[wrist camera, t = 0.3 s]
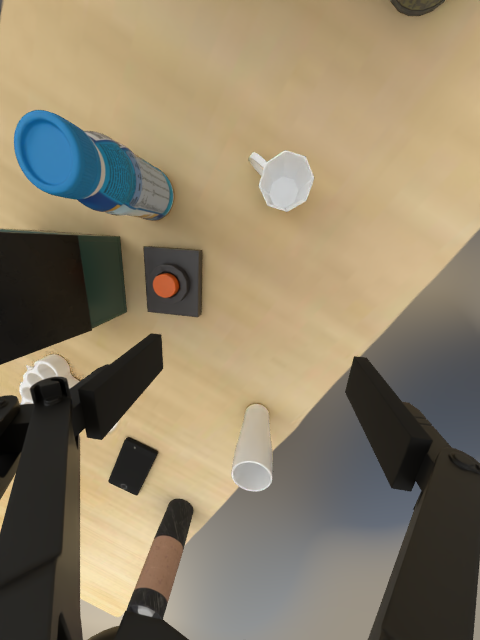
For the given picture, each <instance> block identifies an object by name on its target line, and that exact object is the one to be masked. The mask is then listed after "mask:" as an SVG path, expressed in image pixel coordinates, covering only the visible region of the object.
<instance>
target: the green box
mask: <svg viewBox="0 0 480 640" xmlns="http://www.w3.org/2000/svg"><path fill="white" fill-rule="evenodd" d="M0 232H18V233H41V234H64V235H78V240H79V247H80V254H81V260H82V267H83V274H84V280H85V287H86V293H87V300H88V307H89V313H90V320H91V327H92V328H94V327H97V326H99V325H101V324H103V323H105V322H107V321H109V320H111V319H113V318H115V317H117V316H119V315H122V314H124V313H126V312H127V307H126V296H125V286H124V275H123V265H122V254H121V244H120V237H118V236H104V235H91V234H78V233H64V232H51V231H37V230H16V229H0Z"/></svg>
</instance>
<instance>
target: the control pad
mask: <svg viewBox="0 0 480 640" xmlns="http://www.w3.org/2000/svg"><path fill="white" fill-rule="evenodd" d="M144 262H145V277H146V293H147V308H148V312H155V313H164V314H173V315H182V316H192V317H199V316H200V315H201V306H202V250H191V249H178V248H165V247H152V246H144ZM164 273H170V274H172V275H174V276H175V277H176V278H177V280H178V282H179V289H178V291H177V293H176V294H174V295H172V296H171V297H168V298H163V297H161V296H159V295H158V294H156V292H155V291H154V288H153V281H154V279H155V277H156V276H158V275H160V274H164Z"/></svg>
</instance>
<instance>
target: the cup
mask: <svg viewBox="0 0 480 640" xmlns="http://www.w3.org/2000/svg"><path fill="white" fill-rule="evenodd" d="M249 161H250V163H251V165H252V166H253V167H254V168H255V170H256V171H257V172H258V173H259V174H260V175H261V180H260V183H259V188H260V190H261V192H262V194H263V197H264V199H265V201H266V203H267V205H268V206H270V207H273V208H276V209H279V210H282V211H286V212H288V211H290V210H291V209H293V208H295V207H297V206H298V205H300V204H302V203H304V202H305V201H306V200H307V197H308V195H309V192H310V189H311V186H312V183H313V181H314V176H313V173H312V171H311V168H310V166H309V163H308V161H307V158H306V156H303V155H299V154H296V153H293V152H290V151H286V150H284V151H283V152H281V153H280V154H278V155H277V156H275V157H274V158H272V159H270V160H269V161H266V160H264V159H263V158H262V157H261V156H260V155H259V154H257V153H255V152H253V153H252V154H251V156H250V157H249ZM261 167H262V168H263V169H262V168H261Z"/></svg>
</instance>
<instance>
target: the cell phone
mask: <svg viewBox="0 0 480 640" xmlns="http://www.w3.org/2000/svg"><path fill="white" fill-rule="evenodd" d="M157 454H158V452H157V451H155V450H153V449H151V448H149V447H147V446H145V445H143V444H141V443H139V442H137V441H135V440H133V439H131V438H126V439H125V441H124V443H123V446H122V448H121V451H120V453H119V456H118V458H117V461H116V463H115V466H114V468H113V471H112V473H111V476H110V478H109V483H111V484H113V485H115V486H117V487H119V488H121V489H123V490H126V491H128V492H130V493H132V494H134V495H138V493H139V491H140V489H141V487H142V485H143V483H144V481H145V479H146V477H147V475H148V473H149V471H150V469H151V466H152V464H153V462H154V460H155V458H156V456H157Z"/></svg>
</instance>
